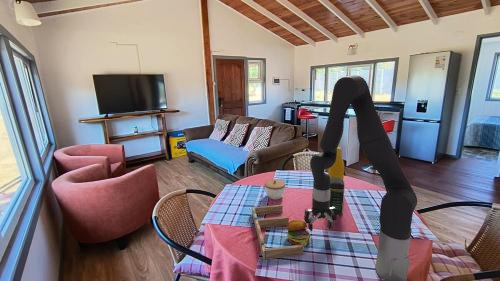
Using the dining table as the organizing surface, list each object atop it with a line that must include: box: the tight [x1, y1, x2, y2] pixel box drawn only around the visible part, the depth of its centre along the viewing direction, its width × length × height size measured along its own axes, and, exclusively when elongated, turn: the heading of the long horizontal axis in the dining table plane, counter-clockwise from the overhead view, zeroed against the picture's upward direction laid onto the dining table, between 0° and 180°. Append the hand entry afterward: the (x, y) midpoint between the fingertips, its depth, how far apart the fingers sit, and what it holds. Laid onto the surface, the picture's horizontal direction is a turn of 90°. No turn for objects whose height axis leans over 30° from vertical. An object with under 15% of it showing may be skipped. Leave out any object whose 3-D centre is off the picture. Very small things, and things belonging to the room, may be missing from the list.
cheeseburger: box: [286, 218, 311, 248], centre depth 106 cm, size 10×11×10 cm
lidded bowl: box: [264, 178, 286, 200], centre depth 145 cm, size 13×13×11 cm
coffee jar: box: [328, 177, 345, 216], centre depth 126 cm, size 10×8×19 cm
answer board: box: [251, 204, 304, 260], centre depth 112 cm, size 34×17×5 cm, turn 7°
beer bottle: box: [327, 146, 345, 181], centre depth 147 cm, size 9×9×29 cm
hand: (319, 229), depth 107 cm, fingers open, 8 cm apart
